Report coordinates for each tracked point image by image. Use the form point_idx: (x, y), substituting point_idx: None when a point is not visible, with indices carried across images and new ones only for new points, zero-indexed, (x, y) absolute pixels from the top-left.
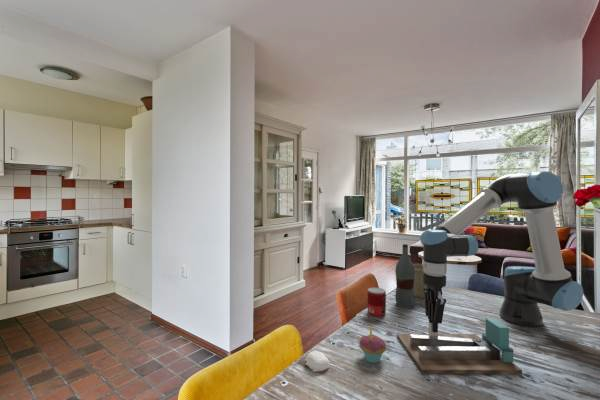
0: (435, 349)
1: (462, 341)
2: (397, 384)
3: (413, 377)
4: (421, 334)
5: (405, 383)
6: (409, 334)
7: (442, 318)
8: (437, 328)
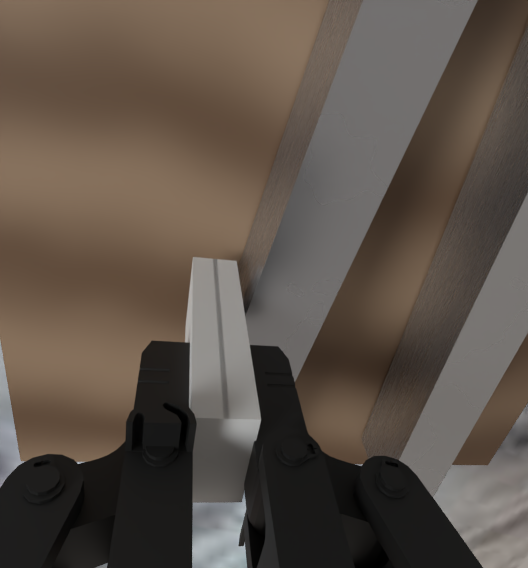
0: (464, 422)
1: (444, 63)
2: (489, 537)
3: (480, 483)
4: (6, 287)
5: (498, 516)
6: (23, 386)
7: (478, 562)
8: (292, 387)
